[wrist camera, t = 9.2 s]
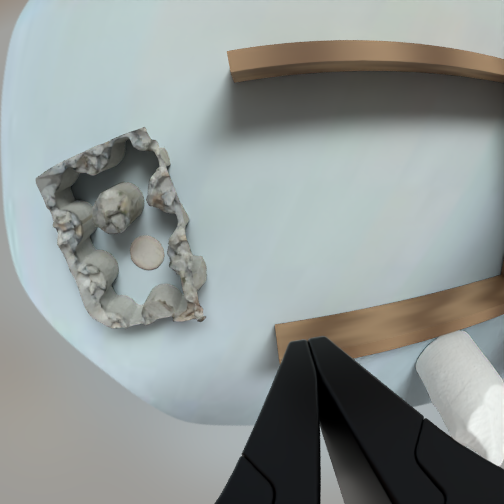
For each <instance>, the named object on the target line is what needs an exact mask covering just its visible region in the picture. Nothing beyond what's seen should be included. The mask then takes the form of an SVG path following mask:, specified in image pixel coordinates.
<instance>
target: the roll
mask: <svg viewBox="0 0 504 504" xmlns="http://www.w3.org/2000/svg"><path fill="white" fill-rule="evenodd" d="M416 370H417V372H418V374H419V376H420V378H421V380H422V381H423V383H424V385H425V387H426V389H427V392H428V394H429V396H430V399H431V402H432V403H433V405H434V406H435V407H436V408H437V410H438V411H439V413H440V415H441V417H442V419H443V421H444V423H445V425H446V427H447V429H448V431H449V433H450V435H451V437H452V438H453V439H454V440H456V441H457V442H459V443H460V444H462V445H464V446H467V447H470V448H471V449H473V450H474V451H475V452H477V453H478V454H480V456H481V457H483V458H485V459H486V460H488V461H490V462H492V463H493V464H495V465H497V466H500V465H501V464H502V462H503V460H504V382H503V380H502V378H501V377H500V375H499V374H498V373H497V371H496V370H495V369H494V367H493V366H492V364H491V363H490V362H489V360H488V359H487V358H486V357H485V355H484V354H483V353H482V351H481V350H480V349H479V347H478V346H477V345H476V344H475V342H474V341H473V340H472V338H471V337H470V336H469V334H468V333H467V332H465V331H455V332H451V333H448V334H445V335H442V336H439V337H438V338H437V339H435V340H434V341H433V342H432V343H431V344H429V345H428V346H427V347H426V348H425V350H424V351H423V352H422V353H421V355H420V356H419V358H418V360H417V362H416Z"/></svg>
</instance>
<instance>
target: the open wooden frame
mask: <svg viewBox="0 0 504 504" xmlns="http://www.w3.org/2000/svg"><path fill="white" fill-rule="evenodd" d="M227 55H228V60H229V66H230V71H231V75H232V78H233V81H234V83H236V82H242V81H248V80H255V79H262V78H270V77H278V76H287V75H297V74H308V73H322V72H341V71H403V72H421V73H434V74H445V75H454V76H463V77H470V78H477V79H483V80H489V81H495V82H500V83H504V59H501V58H497V57H493V56H488V55H484V54H479V53H474V52H469V51H464V50H459V49H453V48H446V47H439V46H432V45H424V44H414V43H403V42H389V41H365V40H335V41H310V42H295V43H284V44H274V45H265V46H257V47H250V48H243V49H237V50H231V51H227ZM503 314H504V260H503V266H502V272H501V275H498V276H495V277H492V278H488V279H485V280H481V281H478V282H474V283H471V284H467V285H463V286H459V287H456V288H452V289H448V290H444V291H440V292H436V293H432V294H428V295H424V296H420V297H416V298H411V299H407V300H403V301H398V302H394V303H389V304H385V305H380V306H375V307H370V308H366V309H361V310H356V311H351V312H345V313H340V314H335V315H329V316H324V317H318V318H312V319H306V320H300V321H294V322H288V323H282V324H275V330H276V338H277V346H278V355H279V362H280V364H281V361H282V359H283V356H284V354H285V351H286V349H287V346H288V344H289V342H291V341H296V340H302V339H305V340H307V341H308V339H309V338H314V337H319V336H326V337H327V338H328V339H330V340H331V341H332V342H333V343H335V344H336V345H337V346H338V347H339V348H341V349H342V350H343V351H344V352H345V353H347V354H348V355H349V356H350V357H351V358H358V357H362V356H367V355H371V354H375V353H380V352H384V351H388V350H392V349H396V348H400V347H403V346H407V345H411V344H414V343H418V342H422V341H425V340H429V339H432V338H435V337H439V336H442V335H445V334H448V333H451V332H455V331H458V330H461V329H464V328H467V327H470V326H473V325H475V324H478V323H481V322H484V321H487V320H489V319H492V318H495V317H497V316H500V315H503Z"/></svg>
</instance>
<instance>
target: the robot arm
mask: <svg viewBox="0 0 504 504" xmlns="http://www.w3.org/2000/svg"><path fill="white" fill-rule="evenodd" d="M423 419H424V417H423V415H421V414H420V413H419V412H418V411H417V410H415V409H414V408H413V407H412V406H410V405H409V404H408V403H407V402H405V401H404V400H403V399H402V398H400V397H399V396H398V395H397V394H395V393H394V392H393V391H392V390H391V389H389V388H388V387H387V386H386V385H384V384H383V383H382V382H381V381H379V380H378V379H377V378H376V377H375V376H373V375H372V374H371V373H370V372H368V371H367V370H366V369H365V368H364V367H362V366H361V365H360V364H359V363H358V362H356V361H355V360H354V359H353V358H351V357H350V356H349V355H348V354H347V353H345V352H344V351H343V350H342V349H341V348H339V347H338V346H337V345H336V344H335V343H333V342H332V341H331V340H330V339H328V338H327V337H326V336H319V337H314V338H309V339H308V341H307V340H305V339H302V340H296V341H291V342H289V344H288V346H287V349H286V351H285V354H284V356H283V359H282V361H281V364H280V366H279V369H278V371H277V374H276V376H275V379H274V381H273V383H272V386H271V388H270V391H269V393H268V395H267V398H266V400H265V402H264V405H263V407H262V409H261V412H260V414H259V416H258V419H257V421H256V423H255V426H254V428H253V430H252V432H251V435H250V437H249V439H248V441H247V443H246V446H245V448H244V450H243V453H242V456H241V457H240V458H239V460H238V462H237V464H236V467H235V469H234V471H233V473H232V475H231V476H230V478H229V480H228V482H227V484H226V486H225V488H224V489H223V491H222V493H221V495H220V496H219V498H218V499H217V501H216V502H215V504H320V490H321V487H320V486H321V484H320V483H321V481H320V480H321V476H320V475H321V472H320V470H321V467H320V427H321V430H322V434H323V437H324V440H325V443H326V446H327V450H328V452H329V456H330V459H331V462H332V465H333V468H334V471H335V475H336V478H337V481H338V484H339V487H340V490H341V494H342V497H343V499H344V503H345V504H504V469H502V468H501V467H499V466H497V465H495V464H493V463H492V462H490V461H488V460H486V459H485V458H483V457H481V456H479V455H478V454H476V453H474V452H473V451H471V450H470V449H468V448H466V447H465V446H463V445H462V444H460V443H459V442H457V441H456V440H454V439H453V438H452V437H450V436H449V435H447V434H446V433H445V432H443V431H442V430H440V429H439V428H438V427H437V426H436V425H434V424H433V423H432V422H430V421H429V420H428V419H426V418H425V419H424V420H423Z"/></svg>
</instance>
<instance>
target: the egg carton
mask: <svg viewBox="0 0 504 504" xmlns="http://www.w3.org/2000/svg"><path fill="white" fill-rule="evenodd" d="M128 139H130V141H131V143H132V145H133V147H134V148H136V149H138V150H140V151H154V152H155V154H156V156H157V158H158V159H159V166H160V167H159V168H157V169H156V172H155V173H154V174H153V175H152V177H151V178H150V180H149V186H148V195H147V199H146V201H147V203H148V204H149V206H153V207H156V208H159V209H160V210H162V211H164V212H166V213H170V214H171V213H174V214H176V216H177V220H178V226H177V228H176V229H175V231H174V233H173V234H172V236H171V237H170V239H169V243H168V244H169V247H168V252H167V254H168V256H169V257H170V264H169V267H170V268H172V269H173V270H174V271H175V272H176V274H178V275H180V277H181V283H182V289H183V293H184V295H183V294H182V293H181V292H180V291H179V289H178V288H176V287H175V286H173V285H170V284H159V285H157V286H155V287H154V288H153V289H152V291H151V292H150V294H149V296H148V298H147V300H146V301H145V303H144V304H142V305H139V304H137V303H136V302H135V301H134V300H133V299H132V298H130V297H128V296H126V295H117V294H116V293H115V291H114V289H113V287H112V285H111V284H112V283H113V281H114V280H115V279H116V277H117V276H118V272H119V268H118V263H117V261H116V259H115V258H114V257H113V256H112V254H110V253H109V252H107V251H104V250H96V249H95V248H94V246H93V244H92V241H91V239H90V235H91V234H92V233H93V232H94V231H95V230H96V228H97V227H99V228H101V229H102V230H103V231H104V232H106V233H108V234H118V233H122V232H124V231H125V230H126V229H127V228H128V227H129V225H130V224H131V223H132V222H133V221H134V220H135V219H136V218H137V217H138V216H139V215H140V214H141V213H142V211H143V208H144V197H143V194H142V192H141V190H140V189H139V188H138V187H137V186H136V185H134V184H132V183H129V182H127V183H119V184H117V185H115V186H113V187H112V188H110V189H108V190H106V191H104V192H102V193H101V194H100V195H99V197H98V198H97V200H96V201H95V204H94V206H92V205H91V204H90V203H88V202H86V201H82V200H79V201H77V200H75V198H74V196H73V193H72V190H71V186H72V185H73V184H74V183H75V182H76V180H77V179H78V177H79V173H88V174H90V175H97V174H99V173H100V172H102V171H105V170H107V169H110V168H113V167H115V166H117V165H118V164H119V163H120V162H121V161H122V159H123V158H124V155H125V151H126V145H125V142H126V140H128ZM169 165H170V159H169V156H168V153H167V151H166V149H165V148H159V145H158V142H157V141H156V140H152V139H151V138H150V137H149V135H148V133H147V131H146V128H145V127H143V128H140V129H138V130H135V131H132V132H129V133H126V134H123V135H121V136H119V137H116V138H114V139H112V140H110V141H108V142H106V143H103V144H100V145H97V146H95V147H93V148H91V149H89V150H87V151H85V152H82V153H80V154H78V155H76V156H74V157H71V158H69V159H67V160H64V161H63V162H61V163H59V164H57V165H55V166H54V167H52V168H50V169H48V170H47V171H45V172H44V173H43V174H41V175H40V176H38V177H37V178H36V184H37V186H38V188H39V190H40V192H41V195H42V197H43V199H44V202H45V204H46V207H47V208H48V209H49V210H50V212H51V214H52V217H53V221H54V222H53V227H54V228H56V229H57V232H58V239H57V245H58V246H59V248H60V249H61V251H62V253H63V254H64V256H65V258H66V261H67V263H68V266H69V269H70V272H71V273H72V275H73V276H74V278H75V280H76V283H77V286H78V288H79V291H80V294H81V297H82V300H83V303H84V306H85V308H86V310H87V311H88V313H89V314H90V316H91V317H92V318H94V319H95V320H97V321H98V322H100V323H102V324H104V325H106V326H108V327H110V328H128V327H130V326H133V325H138V324H144V325H149V324H151V323H153V322H154V321H155V320H157V319H159V318H166V317H170V316H172V317H173V321H175V322H181V321H187V320H191V319H198V320H197V321H199V322H202V321H203V320H204V319H205V318H206V317H205V316H203V309H202V307H201V306H200V304H199V301H198V295H197V291H198V290H199V289H200V288H201V287H202V285H203V284H204V283H205V281H206V276H207V274H206V271H207V268H206V264H205V262H204V259H203V257H202V256H195V255H192V253H191V250H190V247H189V244H188V242H187V239H186V235H185V228H186V225H187V223H188V222H189V217H188V215H187V213H186V211H185V210H184V208H183V206H182V204H181V203H180V201H179V198H178V196H177V193H176V191H175V188H174V186H173V183H172V181H171V178H170V176H169V173H168V171H167V168H166V167H168V166H169ZM124 182H125V181H124ZM130 254H131V259H132V261H133V262H134V263H135V264H136V265H137V266H138V267H140V268H142V269H145V270H152V269H155V268H158V267H159V265H160V264H161V263H162V262H163V259H164V249H163V247H162V246H161V244H160V243H159V241H158V240H156V239H155V238H153V237H151V236H147V235H143V236H139V237H137V238H135V240H134V241H133V242H132V243H131V246H130Z"/></svg>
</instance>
